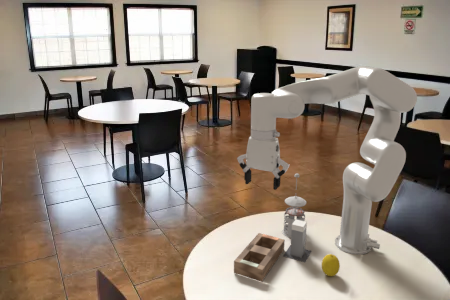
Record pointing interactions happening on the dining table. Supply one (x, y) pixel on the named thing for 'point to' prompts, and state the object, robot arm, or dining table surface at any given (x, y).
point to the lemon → (330, 265)
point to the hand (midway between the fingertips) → (261, 185)
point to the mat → (303, 259)
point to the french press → (293, 212)
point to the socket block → (259, 257)
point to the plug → (298, 238)
